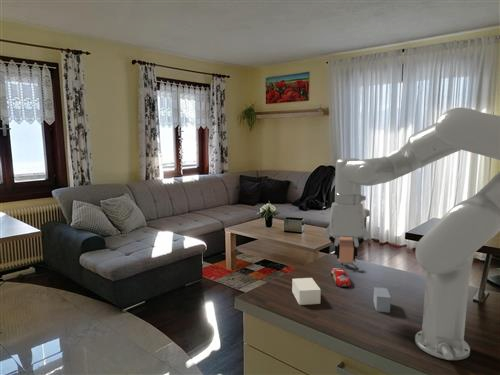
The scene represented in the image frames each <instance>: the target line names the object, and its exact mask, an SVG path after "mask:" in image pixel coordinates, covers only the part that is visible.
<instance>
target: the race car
mask: <svg viewBox="0 0 500 375" xmlns="http://www.w3.org/2000/svg"><path fill="white" fill-rule="evenodd" d="M330 275H331V278H332V280H333V282H334V284H335V285H336V287H340V288H348V287H351V285H352V283H351V282H352V281H351V280H350V278H349V277H350V275H348V274H347V272H346V270H345V269H343V268H342V267H341V268H340V267H339V268H338V267H337V268H332V269H331V274H330Z"/></svg>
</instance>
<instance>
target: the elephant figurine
mask: <svg viewBox="0 0 500 375" xmlns="http://www.w3.org/2000/svg"><path fill="white" fill-rule="evenodd" d="M337 261H338V262H339V259H337ZM354 262H355V263H357V260H356V259H355V260H353V263H347V262H339V263H340V264H341V265H342V267H344V266H348V265H352V266H353V267H354V268H355V269H358V264H354Z"/></svg>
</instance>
